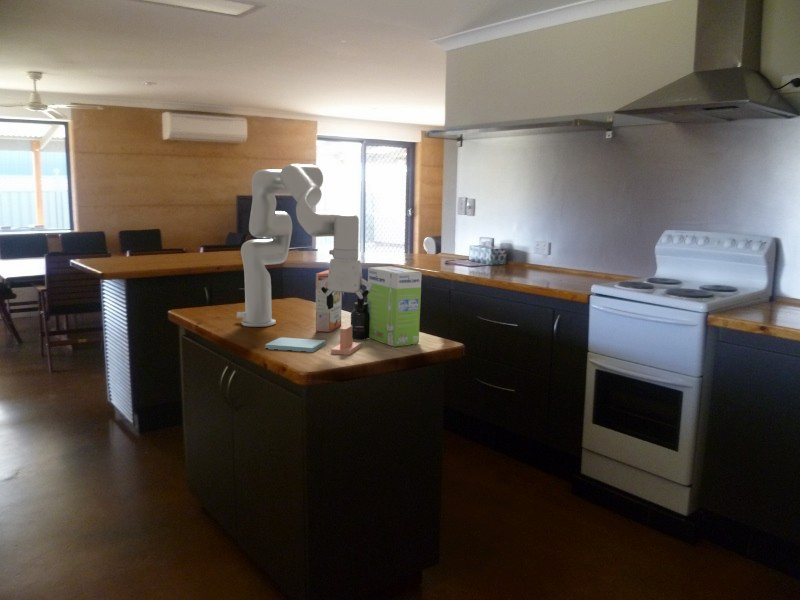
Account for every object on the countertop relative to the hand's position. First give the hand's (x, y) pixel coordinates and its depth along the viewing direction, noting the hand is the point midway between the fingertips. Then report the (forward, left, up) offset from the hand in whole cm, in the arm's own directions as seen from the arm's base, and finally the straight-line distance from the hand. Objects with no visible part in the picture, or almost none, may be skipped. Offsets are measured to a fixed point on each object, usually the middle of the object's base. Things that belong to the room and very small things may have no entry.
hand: (345, 309), depth 202 cm
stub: (0, 0, -13) cm, 13 cm away
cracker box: (-16, +30, -13) cm, 36 cm away
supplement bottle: (-1, +18, -13) cm, 23 cm away
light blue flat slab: (-16, 0, -13) cm, 21 cm away
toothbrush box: (+11, +17, -13) cm, 24 cm away
